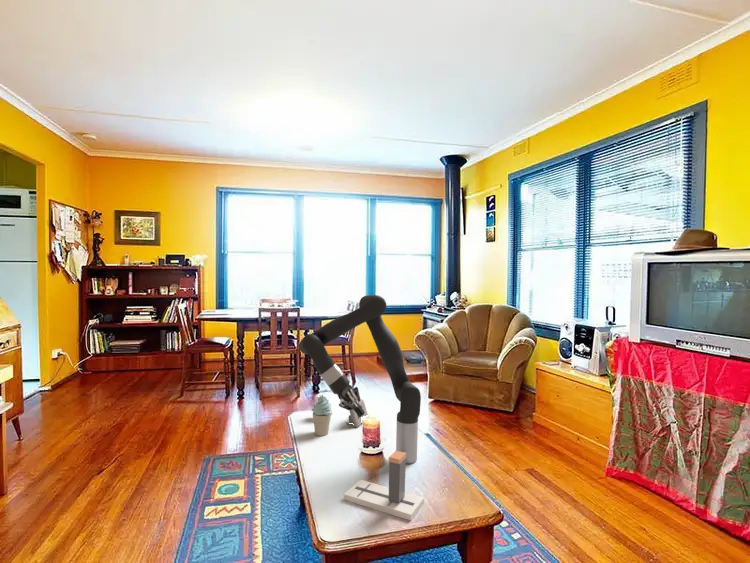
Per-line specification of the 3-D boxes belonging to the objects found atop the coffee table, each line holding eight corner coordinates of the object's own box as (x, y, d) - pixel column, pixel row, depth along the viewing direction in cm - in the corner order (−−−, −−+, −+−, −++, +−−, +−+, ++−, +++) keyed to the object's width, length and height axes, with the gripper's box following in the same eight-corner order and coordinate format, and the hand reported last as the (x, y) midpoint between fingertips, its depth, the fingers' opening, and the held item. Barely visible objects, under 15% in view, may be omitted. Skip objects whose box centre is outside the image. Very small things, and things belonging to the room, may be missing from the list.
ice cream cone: (328, 428, 220) (329, 389, 220) (333, 436, 210) (334, 396, 209) (309, 430, 217) (309, 391, 216) (313, 438, 207) (313, 397, 206)
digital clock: (356, 429, 220) (357, 408, 220) (342, 425, 225) (342, 405, 225) (373, 419, 234) (373, 400, 234) (359, 416, 239) (360, 397, 239)
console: (360, 484, 165) (360, 479, 165) (423, 503, 153) (424, 497, 153) (343, 499, 154) (344, 493, 154) (411, 520, 142) (411, 514, 142)
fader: (394, 493, 155) (396, 450, 154) (405, 496, 153) (406, 452, 152) (387, 501, 149) (388, 457, 149) (398, 504, 148) (399, 459, 147)
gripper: (333, 382, 157) (362, 420, 157) (349, 366, 169) (375, 402, 169) (320, 391, 161) (348, 428, 160) (336, 375, 173) (362, 410, 172)
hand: (362, 414), depth 164 cm, fingers closed
